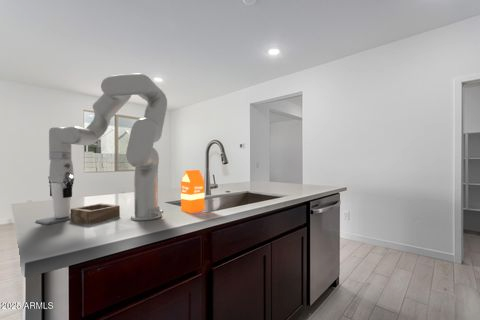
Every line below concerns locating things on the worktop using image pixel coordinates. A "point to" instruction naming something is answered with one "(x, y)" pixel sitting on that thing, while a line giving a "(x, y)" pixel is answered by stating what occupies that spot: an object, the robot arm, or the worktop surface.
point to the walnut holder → (95, 213)
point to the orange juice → (192, 191)
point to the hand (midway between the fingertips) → (61, 196)
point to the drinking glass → (60, 201)
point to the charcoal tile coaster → (53, 220)
